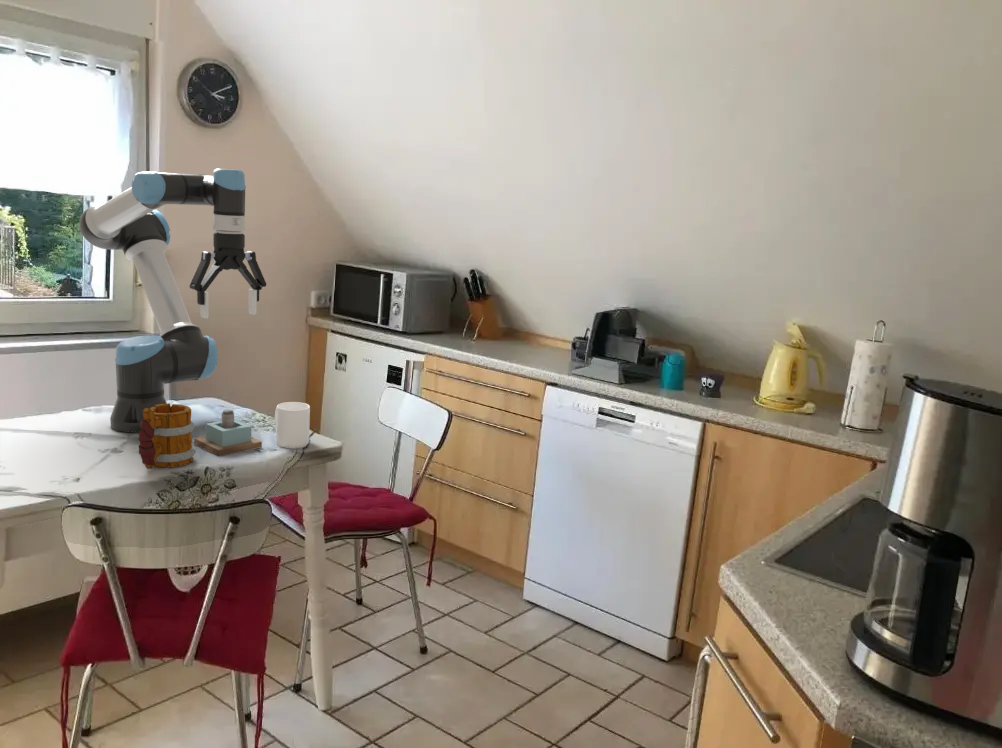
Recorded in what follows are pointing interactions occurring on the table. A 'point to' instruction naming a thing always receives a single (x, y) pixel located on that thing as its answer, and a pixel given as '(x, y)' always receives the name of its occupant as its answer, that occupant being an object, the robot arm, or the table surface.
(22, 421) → the table surface
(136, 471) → the table surface
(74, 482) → the table surface
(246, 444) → the post block
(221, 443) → the ring
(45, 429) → the table surface
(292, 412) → the cup
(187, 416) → the mug
